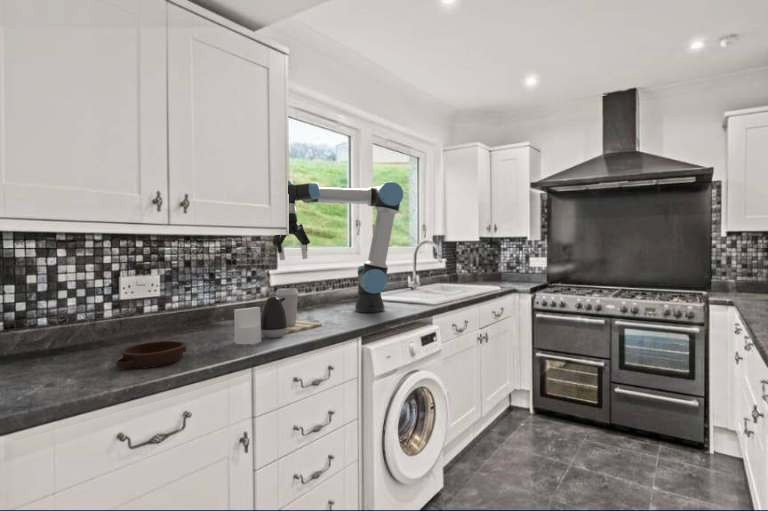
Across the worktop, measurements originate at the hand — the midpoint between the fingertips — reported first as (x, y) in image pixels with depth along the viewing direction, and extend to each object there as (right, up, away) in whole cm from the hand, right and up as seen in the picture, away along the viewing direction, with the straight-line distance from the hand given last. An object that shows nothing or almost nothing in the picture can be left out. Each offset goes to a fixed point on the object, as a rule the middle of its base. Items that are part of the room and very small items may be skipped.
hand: (294, 259), depth 210 cm
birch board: (+1, -28, -21) cm, 35 cm away
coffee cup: (+1, -27, -20) cm, 34 cm away
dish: (-27, -31, -74) cm, 84 cm away
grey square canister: (-7, -29, -48) cm, 56 cm away
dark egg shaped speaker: (0, -29, -39) cm, 49 cm away
